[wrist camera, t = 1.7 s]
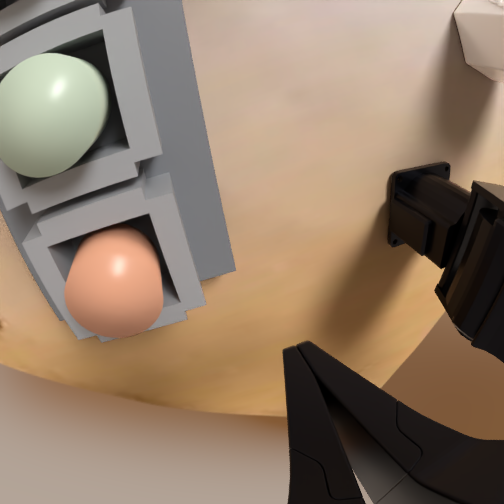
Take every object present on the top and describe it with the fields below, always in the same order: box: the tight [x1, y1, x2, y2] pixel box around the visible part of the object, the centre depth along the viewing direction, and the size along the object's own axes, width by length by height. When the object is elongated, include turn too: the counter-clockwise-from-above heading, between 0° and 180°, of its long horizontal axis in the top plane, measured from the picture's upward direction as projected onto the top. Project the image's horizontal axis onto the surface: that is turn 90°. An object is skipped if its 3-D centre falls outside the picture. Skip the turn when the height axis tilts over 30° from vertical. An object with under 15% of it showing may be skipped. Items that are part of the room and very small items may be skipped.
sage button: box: [0, 53, 111, 178], centre depth 9 cm, size 4×4×3 cm
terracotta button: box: [64, 223, 163, 338], centre depth 14 cm, size 4×4×3 cm
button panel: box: [0, 0, 236, 343], centre depth 12 cm, size 12×24×5 cm, turn 9°
